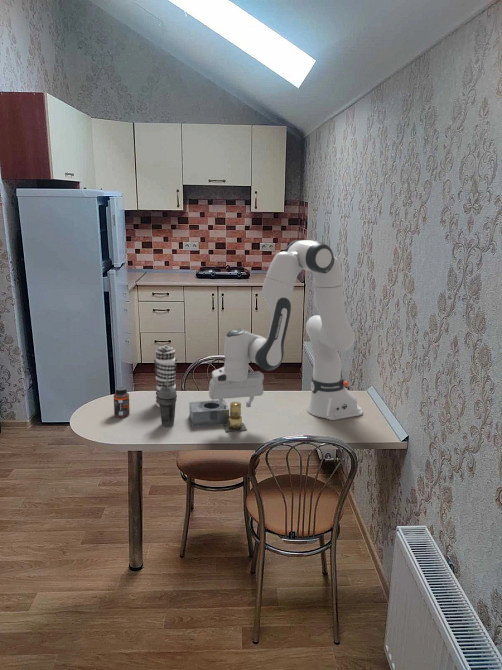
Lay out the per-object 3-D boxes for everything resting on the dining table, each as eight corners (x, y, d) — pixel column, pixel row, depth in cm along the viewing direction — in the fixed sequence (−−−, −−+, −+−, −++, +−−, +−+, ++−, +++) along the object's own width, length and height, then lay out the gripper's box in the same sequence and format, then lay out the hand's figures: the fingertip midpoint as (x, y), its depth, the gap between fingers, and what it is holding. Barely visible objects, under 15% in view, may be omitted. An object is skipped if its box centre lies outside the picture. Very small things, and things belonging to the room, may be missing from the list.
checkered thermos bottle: (157, 399, 223) (156, 343, 216) (179, 400, 223) (178, 344, 216) (153, 408, 214) (151, 349, 208) (175, 408, 214) (174, 350, 207)
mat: (243, 424, 201) (243, 423, 201) (247, 430, 196) (247, 429, 195) (223, 425, 199) (223, 424, 199) (226, 432, 194) (226, 431, 194)
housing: (224, 413, 210) (224, 399, 209) (229, 424, 201) (229, 409, 199) (189, 416, 207) (189, 402, 206) (192, 426, 198) (192, 412, 196)
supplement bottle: (124, 419, 203) (123, 391, 200) (111, 416, 205) (109, 389, 202) (132, 413, 209) (131, 386, 206) (119, 411, 210) (118, 384, 207)
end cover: (240, 423, 200) (240, 400, 198) (243, 429, 196) (243, 405, 193) (227, 424, 199) (227, 401, 197) (229, 430, 194) (230, 406, 192)
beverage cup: (175, 419, 204) (174, 370, 199) (179, 427, 197) (178, 377, 192) (156, 421, 201) (155, 372, 196) (160, 429, 195) (159, 379, 190)
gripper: (261, 368, 197) (261, 402, 201) (207, 371, 192) (208, 406, 196) (265, 373, 191) (265, 408, 195) (210, 377, 187) (210, 413, 190)
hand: (236, 407), depth 195 cm, fingers open, 8 cm apart
